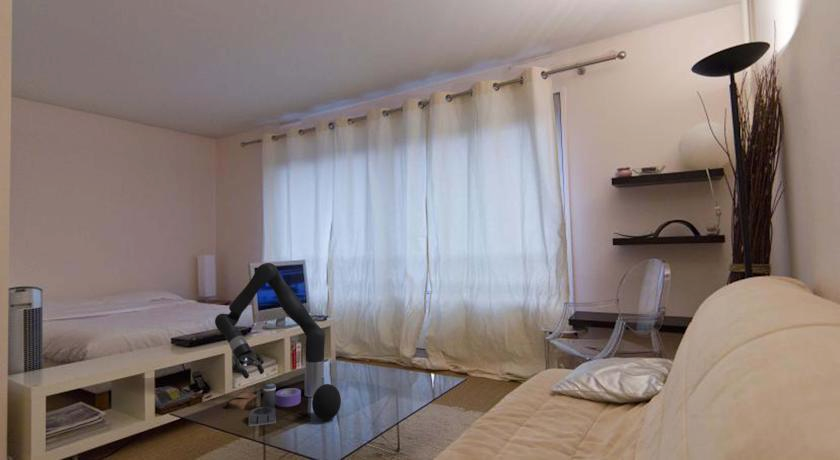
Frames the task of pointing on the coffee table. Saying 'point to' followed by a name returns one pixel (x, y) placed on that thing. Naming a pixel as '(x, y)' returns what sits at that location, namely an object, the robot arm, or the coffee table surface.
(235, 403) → the sunglasses case
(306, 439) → the coffee table surface
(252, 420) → the mount
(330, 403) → the decorative egg
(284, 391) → the tape roll
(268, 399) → the lens
